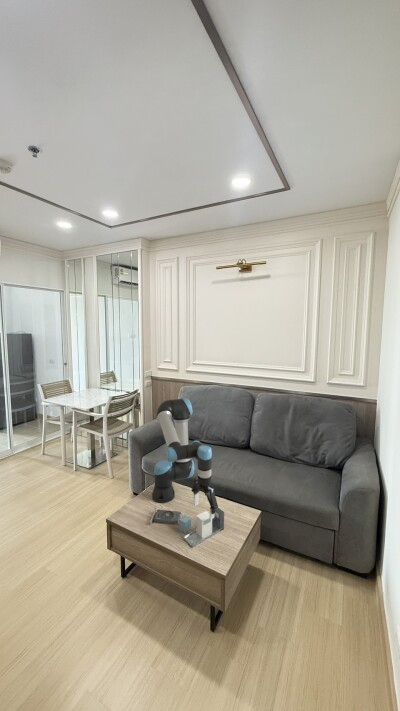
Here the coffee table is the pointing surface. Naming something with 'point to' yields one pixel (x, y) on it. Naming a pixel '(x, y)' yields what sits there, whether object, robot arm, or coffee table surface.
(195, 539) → the rail
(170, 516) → the graphics card
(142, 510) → the coffee table surface
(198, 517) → the block
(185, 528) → the block
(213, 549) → the coffee table surface
